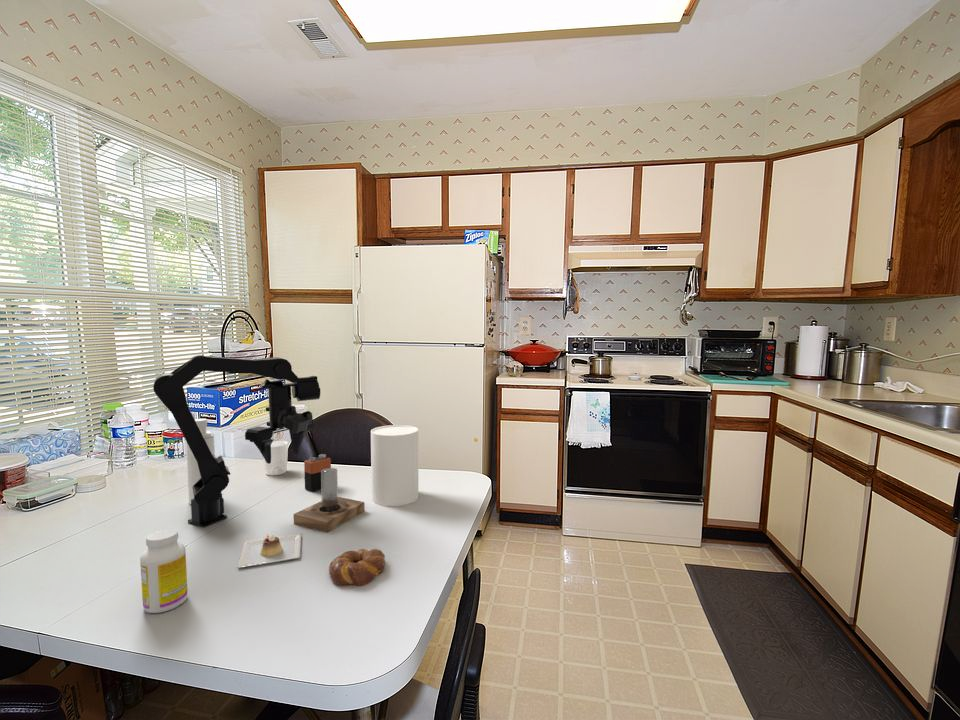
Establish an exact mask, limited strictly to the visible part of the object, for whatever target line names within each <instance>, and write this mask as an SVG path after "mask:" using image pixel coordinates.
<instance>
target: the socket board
mask: <svg viewBox="0 0 960 720" xmlns="http://www.w3.org/2000/svg"><path fill="white" fill-rule="evenodd" d="M365 508H366V507H365V501H361V500H355V499H351V498H346V497H341V496H338V510H337V511H333V512H322V500H320V501H319V502H316V503H314V504H312V505H310V506H308V507H306V508H304V509H302V510H299V511H297V512H295V513H293V514H292V515H293V524H294V525H298V526H302V527H306V528H309V529H313V530H317V531H321V532H324V533H328V532H330V531H332V530H333V529H335V528H336V527H338V526H340V525H343V524H344V523H346V522H348V521H350V520H351V519H353V518H355V517H357V516H358V515H361V514H362V513H363V512H365V511H366V510H365Z"/></svg>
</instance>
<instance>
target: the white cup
mask: <svg viewBox="0 0 960 720" xmlns="http://www.w3.org/2000/svg"><path fill="white" fill-rule="evenodd" d="M288 451H289V442H288V441H285V440H273V442H272V444H271V463H270V464H269V463H267V462H266V461H265V459H264V457H263V456H262V457H263V463H264V464H263V465H264V473H265V475H267V476H279V475H283V474H286V473H287V471H288V457H289V456H288V453H289V452H288Z"/></svg>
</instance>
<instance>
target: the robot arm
mask: <svg viewBox="0 0 960 720" xmlns="http://www.w3.org/2000/svg"><path fill="white" fill-rule="evenodd" d="M292 367H293V366H292V365H291V362H290V361H289V360H287V359H285V358H282V357H263V358H256V359H249V358H236V357H235V358H234V357H233V358H232V357H220V356H210V355H209V356H207V355H203V354H196V355H193V356H192V357H191V358H190V359H189V360H188V361H186V362H185V363H183V364H182V365H180V366H179V367H177V368H176V369H174V370H173V371H172V372H166V373H162V374H160V375H158V376H157V377H156V378H155V379H154V382H153V387H152V388H153V392H154V394H155V395H156V396H157V398H158V399H159V400H160V402H161V403H163V405H164V406H165V408H167V409H168V410H169V412H170V413H171V414H172V416H173V418H174V419H175V422H176V424H177V426H178V427H179V430H180V431H181V434H182V436H183V437H184V439H185V441H187V443H188V445H189V447H190V449H191V451H192V453H193V455H194V457H195V459H196V461H197V464H198V468H199V471H200V475H201V478H200V479H199V480H198V481H197V482H196V483H195V484H194V485H193V486H192V488H193V494H194V499H191V504H190V507H191V508H190V510H191V511H190V512H191V513H190V514H191V518H189V519H188V520H187V523H188V524H193V525H195V526H198V527H208V526H209V525H211V524H214V523H216V522H219V521H221V520H224V519H227V518H228V516H227V515H226V514H225V499H224V497H223V493H222V491H224V490H225V489H226V488H227V487H228V486H229V483H230V478H229V476H230V475H231V472H230V469H229V467H228V466H227V465H226V464H225V460H224V459H223V456H222V455H219V456H217V457H216V456H214V455H213V454H212V453H211V451H210V449H209V447H208V445H207V443H206V441H205V439H204V437H203V435H202V433H201V431H200V429H199V427H198V425H197V423H196V421H195V417H194V416H193V415H194V414H192V411H191V409H190V407H189V404H188V401H187V397H186V393H185V389H184V387H185V386H186V385H187V384H188V383H190V382H191V381H192V380H193V379H195V378H196V377H197V376H198V375H200V374H201V373H202V372H218V373H219V372H220V373H234V374H235V373H236V374H252V375H256V376H261V377H266V378H265V379H264V381H263V382H262V383H261V384H259V388H261V389H263V390H264V389H267V391H268V393H267V394H268V406H266V407H265V412H268V413H269V421H267V422H266V426H267V427H266V426H254V427H250V428H247V429H246V431H245V432H244V438H245V441H249V443H250V442H251V443H254V445H255V446H256V447H257V449H258V450H259V452H260V454H261V455H262V456H261V457H264V458H263V460H264V459H265V461H266V462H267V463H269V464H270V463H271V444H272V442H273V441H274V439H273V436H274V434H276V433H277V434H278V433H281V432H285V431H289V436H290V442H291V448H292V452H293V454H294V455H298V454H299V452H300V448H301V445H302V442H303V439H304V437H305V435H306V434H307V433H308V432H309V431H311V430H312V428H315V420H314V419H313V413H312V412H311V411H310V410H307V411H303V412H299V413H298V412H297V408H296V405H292V398H293V399H296V401H297V402H303V401H314V400H319V399H320V398H321V388H320V384H319V383H320V382H319V381H318V376H317V375H309V376H305V377H298V375H296V374H295V373H294V371H293V369H292ZM268 378H269V379H270V378H271V379H274V380H275V381H273V380H272V381H270V380H269V379H268ZM282 380H285V381H287V382H288V383H283V381H282ZM289 382H290V383H289ZM187 443H186V444H187Z"/></svg>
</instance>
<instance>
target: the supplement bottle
mask: <svg viewBox="0 0 960 720" xmlns="http://www.w3.org/2000/svg"><path fill="white" fill-rule="evenodd" d="M178 539H179V530H178V529H175V528H164V529H160V530H156V531H154V532H151V533H149V534H148V535H147V536H146V538H145V546H147V549H145V550H144V551H143V552H142V553H141V556H140V559H139V561H140V563H139V564H140V565H139V566H140V580H141V595H142V596H141V598H142V600H141V601H142V608H143V610H144V612H147V613H149V614H160V613H165V612H167V611H171V610H173V609H176V608H177V607H179V606H180V605H182V604H183V603H184V602H185V601H186V600H187V598H188V594H189V593H188V579H187V578H188V574H187V571H188V570H187V555H186V554H187V553H186V547H185V545H184V544H183V543H181V542H179V541H178Z"/></svg>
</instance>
